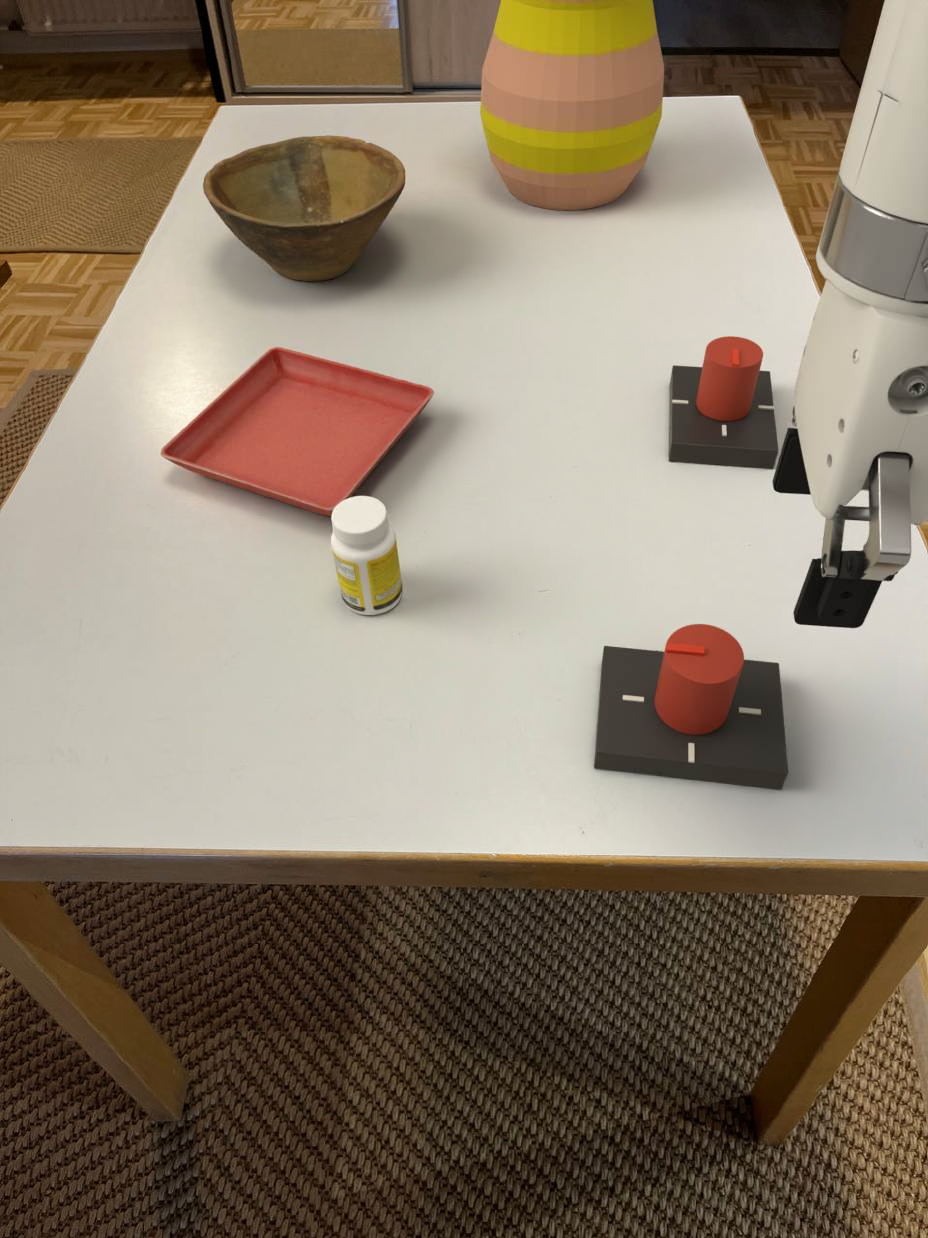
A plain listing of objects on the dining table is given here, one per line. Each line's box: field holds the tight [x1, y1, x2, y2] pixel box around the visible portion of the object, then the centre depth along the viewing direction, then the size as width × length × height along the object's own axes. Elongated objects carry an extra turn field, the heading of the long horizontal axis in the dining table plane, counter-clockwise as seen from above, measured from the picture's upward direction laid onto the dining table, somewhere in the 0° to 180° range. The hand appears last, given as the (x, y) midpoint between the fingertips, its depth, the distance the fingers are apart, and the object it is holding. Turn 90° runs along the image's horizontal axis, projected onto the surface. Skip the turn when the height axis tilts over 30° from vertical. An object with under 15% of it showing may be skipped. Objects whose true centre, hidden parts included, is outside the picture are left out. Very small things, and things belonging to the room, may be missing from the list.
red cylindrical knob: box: [696, 335, 764, 421], centre depth 81 cm, size 5×5×6 cm
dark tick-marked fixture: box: [593, 645, 789, 791], centre depth 62 cm, size 12×9×2 cm
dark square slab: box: [668, 365, 779, 470], centre depth 84 cm, size 12×9×2 cm
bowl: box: [202, 135, 406, 282], centre depth 103 cm, size 22×23×10 cm
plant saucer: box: [160, 346, 435, 517], centre depth 83 cm, size 18×18×3 cm
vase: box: [479, 0, 665, 211], centre depth 107 cm, size 22×22×30 cm
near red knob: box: [655, 623, 745, 735], centre depth 59 cm, size 5×5×6 cm
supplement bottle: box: [330, 495, 403, 616], centre depth 69 cm, size 5×5×8 cm
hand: (812, 551), depth 48 cm, fingers open, 9 cm apart
